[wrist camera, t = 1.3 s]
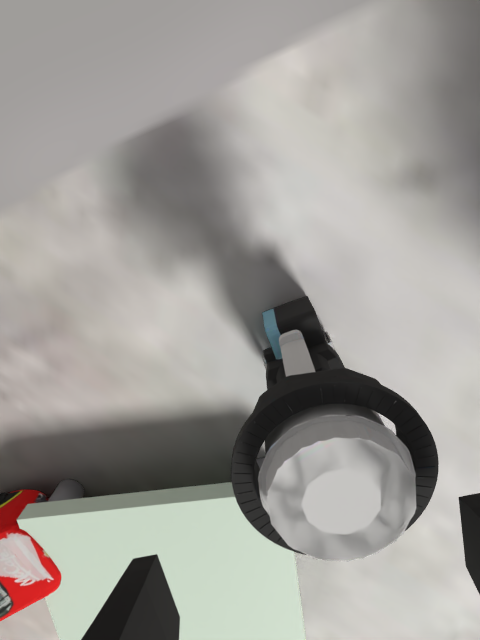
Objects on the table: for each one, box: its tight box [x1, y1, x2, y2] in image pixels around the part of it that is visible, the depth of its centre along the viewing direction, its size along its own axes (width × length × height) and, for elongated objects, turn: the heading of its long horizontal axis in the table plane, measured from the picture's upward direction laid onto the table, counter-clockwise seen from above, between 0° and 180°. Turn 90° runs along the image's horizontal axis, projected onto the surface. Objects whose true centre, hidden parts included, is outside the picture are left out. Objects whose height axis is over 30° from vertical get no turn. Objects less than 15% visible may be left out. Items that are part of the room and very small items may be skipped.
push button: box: [231, 296, 438, 561], centre depth 15 cm, size 7×5×10 cm
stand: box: [17, 458, 306, 640], centre depth 22 cm, size 12×12×3 cm
